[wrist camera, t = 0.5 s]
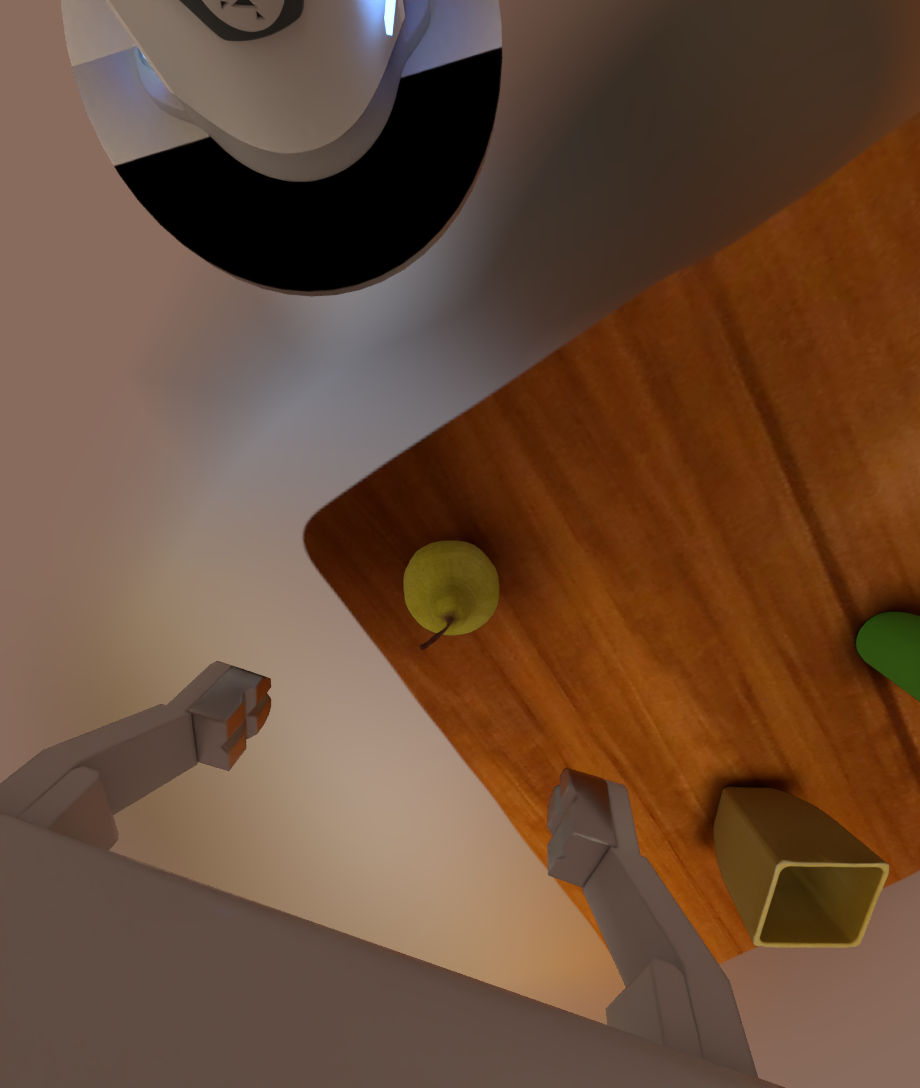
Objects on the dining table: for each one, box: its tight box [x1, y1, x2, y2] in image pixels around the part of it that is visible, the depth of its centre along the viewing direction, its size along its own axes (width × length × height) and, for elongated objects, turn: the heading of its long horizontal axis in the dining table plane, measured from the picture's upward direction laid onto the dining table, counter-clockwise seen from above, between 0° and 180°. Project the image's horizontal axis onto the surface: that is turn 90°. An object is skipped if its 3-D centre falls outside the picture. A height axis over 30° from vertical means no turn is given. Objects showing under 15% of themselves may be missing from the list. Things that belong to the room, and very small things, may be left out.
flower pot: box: [714, 787, 889, 948], centre depth 36 cm, size 9×9×9 cm
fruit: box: [403, 541, 499, 650], centre depth 27 cm, size 7×7×12 cm
